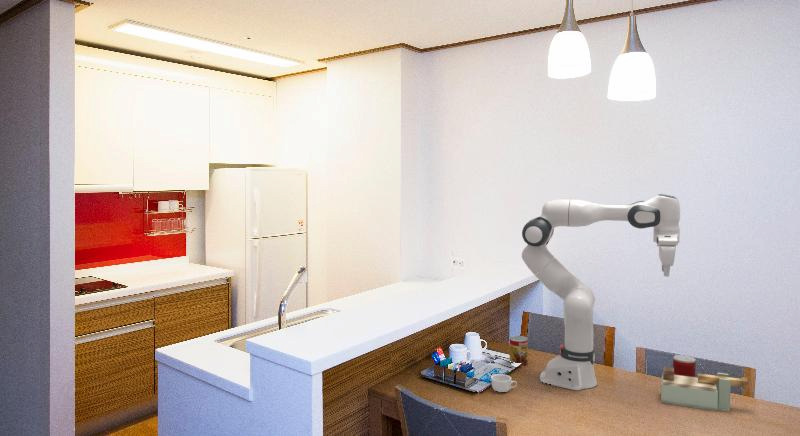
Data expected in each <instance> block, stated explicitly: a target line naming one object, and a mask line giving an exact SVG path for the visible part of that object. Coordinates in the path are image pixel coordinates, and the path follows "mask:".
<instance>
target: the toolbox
mask: <svg viewBox="0 0 800 436" xmlns="http://www.w3.org/2000/svg"><path fill="white" fill-rule="evenodd" d="M729 375H730V374H729V373H724V372H717V374H716V376H723V377H730V376H729ZM715 385H716V388H717V392H713V391H705V390H698V389H690V388H683V387H675V386H668V385H663V375H662V376H661V380H660V400H661V401H660V402H661V404H666V405H674V406H681V407H685V408H686V407H687V408H693V409H700V410H707V411H714V412H717V411H723V412H728V413H730V412H731V387H732V386H731V379H723V378H719V384H715Z"/></svg>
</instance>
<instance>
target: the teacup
mask: <svg viewBox="0 0 800 436" xmlns="http://www.w3.org/2000/svg"><path fill="white" fill-rule="evenodd" d="M490 377H491V387H492V389H493V390H494V391H495V392H496V391H498V392H506V393H507V392H509V391H510V390H511V389H514V388H516V387H517V386H518V383H517V381H516V380H512V377H511V376H510V375H507V374H504V373H503V374H502V373H496V374H493V375H491V376H490ZM513 383H515V385H513V386H512V384H513ZM498 392H497V393H498Z"/></svg>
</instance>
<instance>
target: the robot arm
mask: <svg viewBox="0 0 800 436" xmlns="http://www.w3.org/2000/svg"><path fill="white" fill-rule="evenodd" d="M680 220H681V204H680V201H679V199H678V198H677V197H676V196H674V195H669V194H663V193H662V194H660V193H659V194H657V195H655V196H653V197H652V198H650V199H648V200H639V201H635V202H633V203H630V204H625V205H624V204H601V203H596V202H592V201H588V200H584V199H576V198H575V199H573V198H572V199H571V198H568V199H567V198H562V199H553V200H548V201H546V202H545V203H544V205H543V206H542V209H541V215H540V216H537V217H534V218H531V219H530V220H529V221H528V222H526V224H524V225H523V228H522V231H521V236H522V240H523V241H524V243H525V244H527V245H526V247H524V248H523V250H522V252H521V259H522V261H523V262H524V264H525V265H526V267H527V268H528V269H529V270H530V272H531V273H532V274H533V275H534V276H535V277H536V278H537V279H538V280H539V281H540V283H541V284H542V285H544V287H546V288H547V290H549V291H550V292H552V293H554V294H555V295H557V296H558V298H560V299H561V300H562V301H563V307H562V308H563V321H564V322H563V323H564V343H563V344H560V346H559V355H557V356H556V357H553V358H552V359H550V360H549V361H548V362H547V364H546V367H545V370H543V371H542V372H541V373H540V374H539V381H540V382H541V383H542V382H543V383H542V384H545V383H547V384H546V385H549V384H551V385H550V386H554V387H559V388H563V389H569V390H572V391H581V390H586V389H593V388H594V387H596V386H597V385H598V382H597V378H596V374H595V367H594V364H595V357H596V355H595V349H594V319H593V318H594V316H593V313H594V311H593V310H594V305H595V302H596V297H595V296H596V295H595V294H594V292H593V290H592V289H591V288H590V287H588V286H587V284H585V283H584V282H583V281H581V280H580V279H579V278H578V277H577V276H575V274H572V273H571V272H570V270H568V269H567V268H566V266H564V265H563V264H562V263H561V262H560V261H559V260H558V258H556V257H555V256H554V255H553V254H552V252H550V250H549V249H548V247H547V245H548V244H549V242H550V241H551V239H552V237H553V235H554V230H555V228H557V227H571V228H572V227H573V228H575V227H576V228H577V227H586V226H591V225H592V224H595V223H599V222H602V221H615V222H617V221H618V222H621V221H622V222H628V223H629V224H630V225H631V226H632V227H633V228H636V229H638V230H639V229H647V228H652V227H653V235H652V236H653V241H652V242H654V243H656V247H658V258H659V260H660V262H661V263H660V264H661V271H662V272H663V277H667V278H668V277H670V270H671V267H673V266H674V263H675V259H676V257H675V256H676V250H677V246H678V245H679V243H680V238H681V237H680V236H681V235H680V231H681V229H680V225H679V223H680Z"/></svg>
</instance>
